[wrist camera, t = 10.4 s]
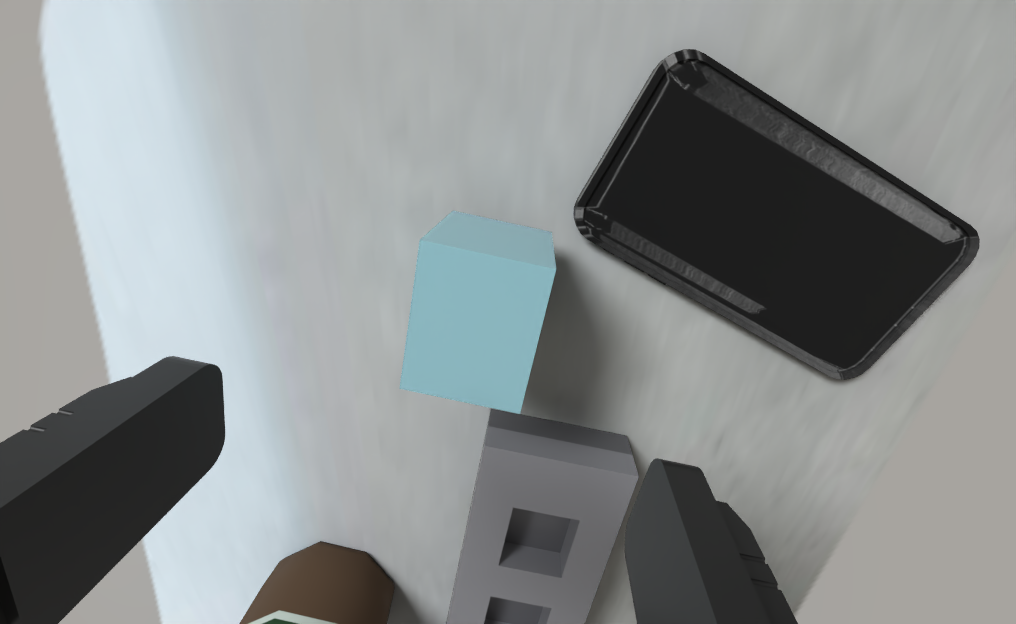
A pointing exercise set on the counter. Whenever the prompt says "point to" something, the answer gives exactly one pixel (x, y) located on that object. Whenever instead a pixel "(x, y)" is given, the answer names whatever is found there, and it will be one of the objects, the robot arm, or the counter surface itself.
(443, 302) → the block
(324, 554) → the beer bottle
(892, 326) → the phone
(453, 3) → the counter surface
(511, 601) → the power strip
